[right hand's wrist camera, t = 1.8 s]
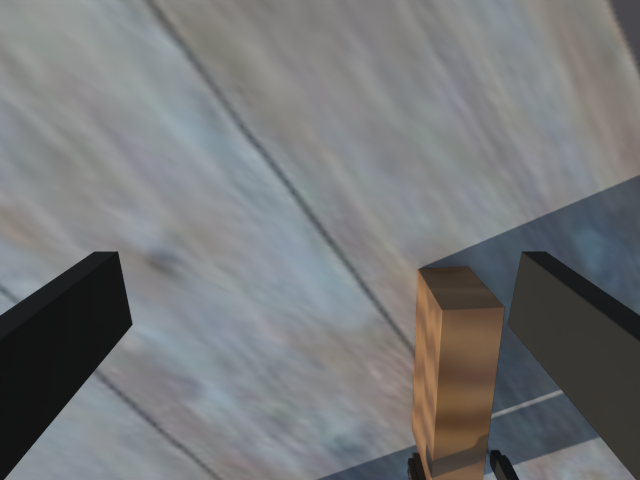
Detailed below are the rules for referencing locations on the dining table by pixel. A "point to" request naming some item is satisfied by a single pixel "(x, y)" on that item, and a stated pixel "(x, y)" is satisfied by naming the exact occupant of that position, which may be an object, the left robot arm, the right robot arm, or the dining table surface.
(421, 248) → the dining table surface
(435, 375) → the bar
